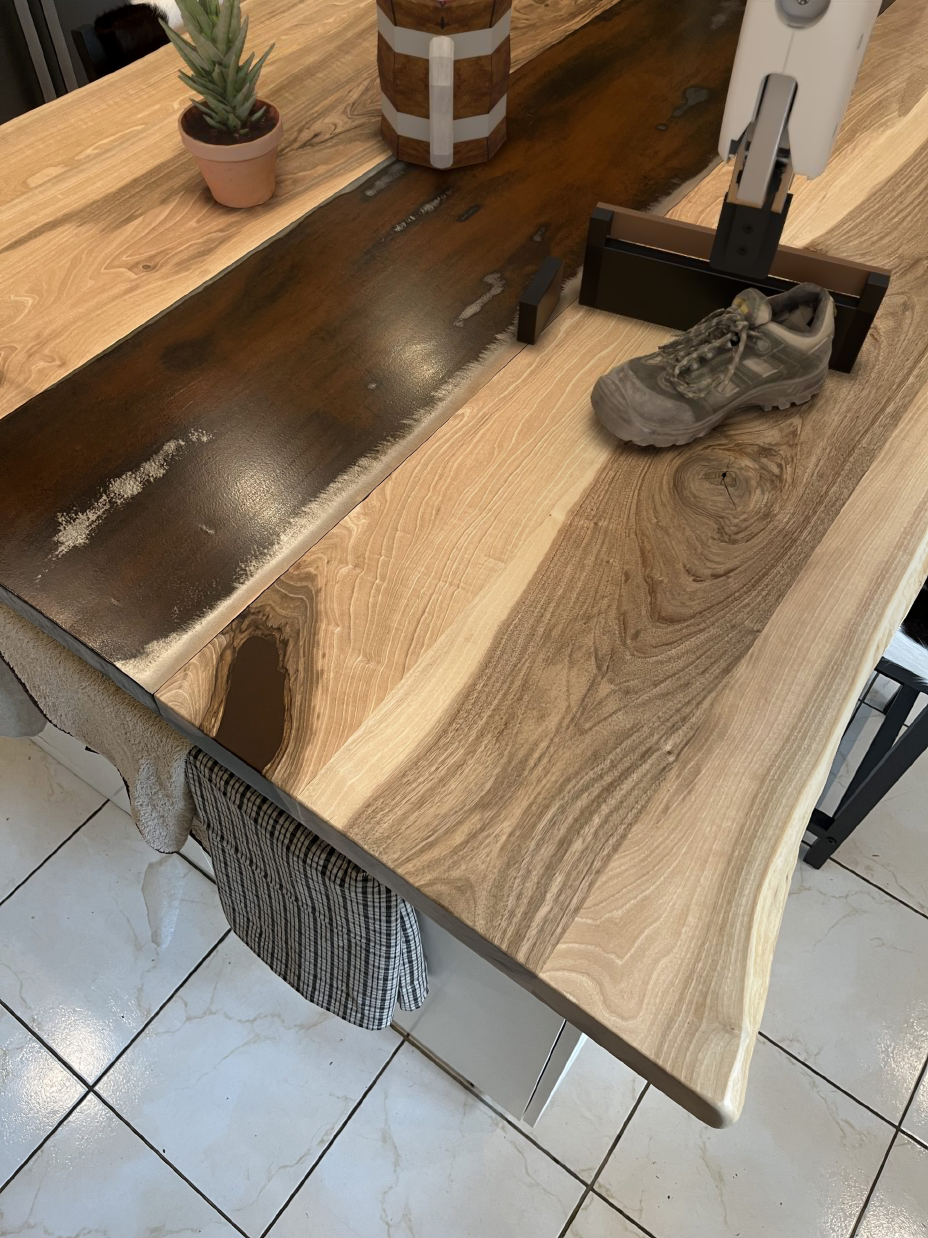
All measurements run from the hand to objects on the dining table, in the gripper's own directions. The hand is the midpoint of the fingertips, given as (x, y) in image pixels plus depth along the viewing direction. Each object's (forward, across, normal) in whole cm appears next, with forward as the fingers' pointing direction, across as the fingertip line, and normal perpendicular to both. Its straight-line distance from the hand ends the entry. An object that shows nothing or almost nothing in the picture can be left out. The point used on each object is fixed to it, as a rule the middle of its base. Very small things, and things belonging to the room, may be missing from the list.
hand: (740, 264), depth 51 cm
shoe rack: (+22, +21, +4) cm, 30 cm away
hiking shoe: (+22, +15, +1) cm, 26 cm away
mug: (+21, +42, +36) cm, 59 cm away
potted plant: (+21, +27, +50) cm, 61 cm away
